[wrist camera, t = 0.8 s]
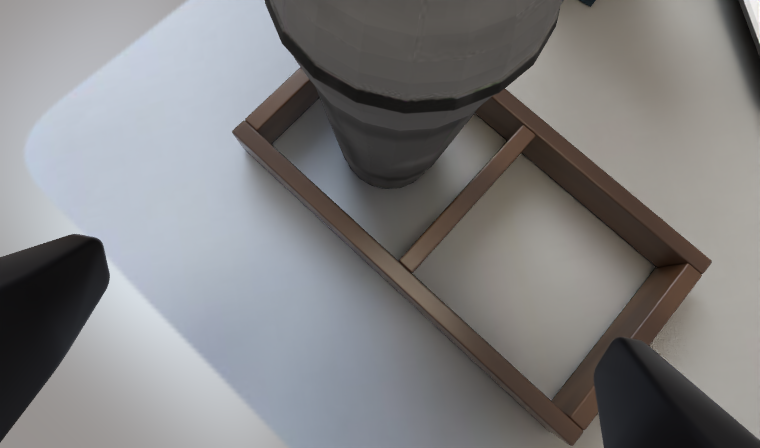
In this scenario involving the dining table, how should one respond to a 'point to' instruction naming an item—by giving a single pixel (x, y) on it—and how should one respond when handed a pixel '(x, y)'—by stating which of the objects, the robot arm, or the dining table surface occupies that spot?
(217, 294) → the dining table surface
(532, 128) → the frame
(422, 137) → the beverage cup
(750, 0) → the plate
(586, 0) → the watch
